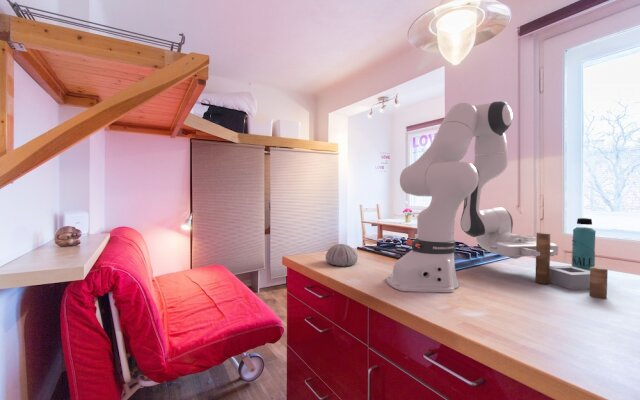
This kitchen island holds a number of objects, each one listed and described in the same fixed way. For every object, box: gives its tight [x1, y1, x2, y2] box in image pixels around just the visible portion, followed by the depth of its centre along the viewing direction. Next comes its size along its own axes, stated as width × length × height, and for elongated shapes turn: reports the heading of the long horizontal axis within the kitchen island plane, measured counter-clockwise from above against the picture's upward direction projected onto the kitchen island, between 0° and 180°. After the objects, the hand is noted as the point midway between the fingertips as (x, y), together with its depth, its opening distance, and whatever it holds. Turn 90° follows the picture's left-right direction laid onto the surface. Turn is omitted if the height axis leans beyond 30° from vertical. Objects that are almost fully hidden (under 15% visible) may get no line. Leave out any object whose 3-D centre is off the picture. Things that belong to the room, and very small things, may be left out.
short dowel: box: [588, 266, 609, 300], centre depth 84 cm, size 4×4×8 cm
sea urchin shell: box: [325, 243, 359, 267], centre depth 122 cm, size 13×14×8 cm
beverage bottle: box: [571, 217, 596, 271], centre depth 108 cm, size 6×7×20 cm
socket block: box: [549, 265, 590, 291], centre depth 95 cm, size 10×10×4 cm
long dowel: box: [534, 232, 551, 285], centre depth 96 cm, size 4×4×16 cm
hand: (545, 253), depth 95 cm, fingers closed on long dowel, 4 cm apart
